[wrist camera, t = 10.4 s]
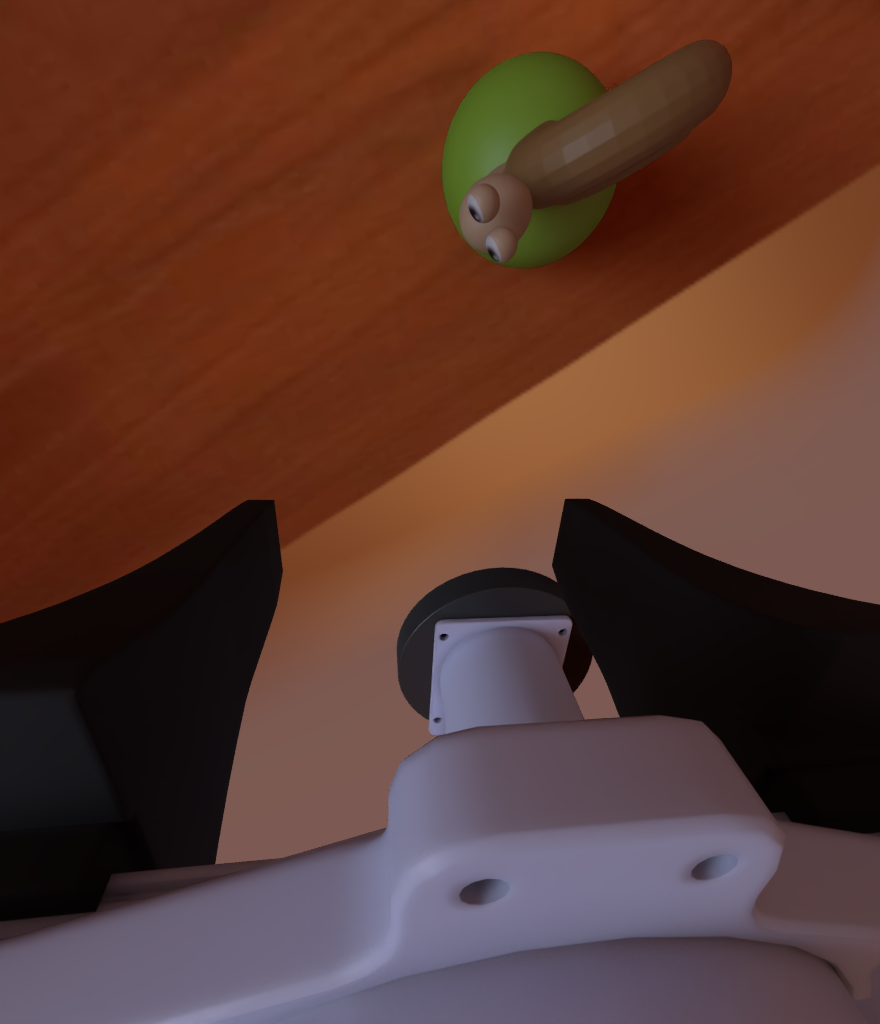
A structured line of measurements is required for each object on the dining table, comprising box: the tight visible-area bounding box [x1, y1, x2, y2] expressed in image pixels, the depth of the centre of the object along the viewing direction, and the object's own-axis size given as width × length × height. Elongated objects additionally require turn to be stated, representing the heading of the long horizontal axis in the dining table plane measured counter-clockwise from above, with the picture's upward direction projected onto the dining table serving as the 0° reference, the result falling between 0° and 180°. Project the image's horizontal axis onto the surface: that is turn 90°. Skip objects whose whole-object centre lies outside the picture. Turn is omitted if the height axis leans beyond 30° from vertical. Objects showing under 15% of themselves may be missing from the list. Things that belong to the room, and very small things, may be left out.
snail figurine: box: [442, 40, 732, 269], centre depth 12 cm, size 5×6×12 cm
